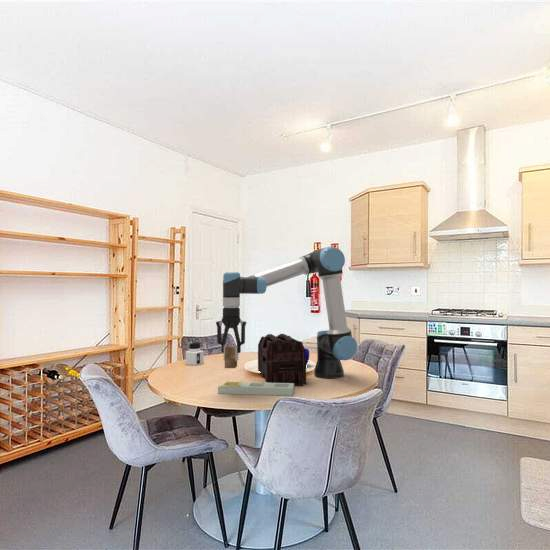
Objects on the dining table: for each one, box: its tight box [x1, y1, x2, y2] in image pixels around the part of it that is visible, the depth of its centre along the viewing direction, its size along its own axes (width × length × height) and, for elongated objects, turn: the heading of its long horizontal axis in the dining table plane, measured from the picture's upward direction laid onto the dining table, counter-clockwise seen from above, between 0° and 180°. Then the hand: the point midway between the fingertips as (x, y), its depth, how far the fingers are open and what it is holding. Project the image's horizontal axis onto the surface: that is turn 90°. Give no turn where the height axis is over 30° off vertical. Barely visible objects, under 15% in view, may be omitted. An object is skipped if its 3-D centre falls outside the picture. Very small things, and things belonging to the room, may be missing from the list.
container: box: [185, 341, 205, 366], centre depth 237 cm, size 8×8×13 cm
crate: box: [257, 333, 307, 387], centre depth 197 cm, size 35×19×21 cm, turn 11°
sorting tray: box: [217, 380, 295, 397], centre depth 172 cm, size 32×9×3 cm, turn 82°
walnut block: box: [224, 345, 238, 369], centre depth 174 cm, size 4×4×9 cm
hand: (231, 360), depth 174 cm, fingers closed on walnut block, 4 cm apart
